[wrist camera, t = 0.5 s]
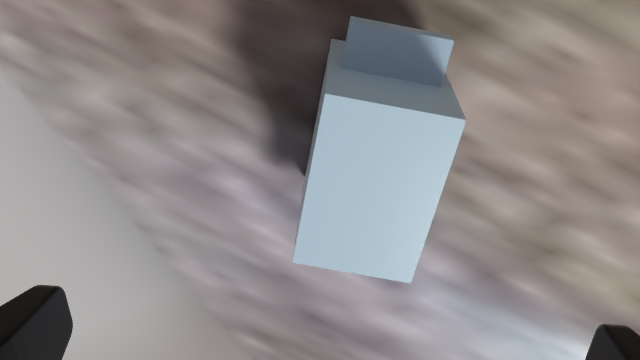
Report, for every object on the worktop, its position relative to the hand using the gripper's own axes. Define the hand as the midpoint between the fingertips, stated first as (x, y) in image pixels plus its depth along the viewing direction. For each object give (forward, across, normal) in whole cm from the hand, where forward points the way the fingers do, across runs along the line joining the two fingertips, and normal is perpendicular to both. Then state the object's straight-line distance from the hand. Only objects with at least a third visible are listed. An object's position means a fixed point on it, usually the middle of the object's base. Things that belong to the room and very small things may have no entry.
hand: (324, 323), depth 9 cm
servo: (+13, -1, +2) cm, 13 cm away
